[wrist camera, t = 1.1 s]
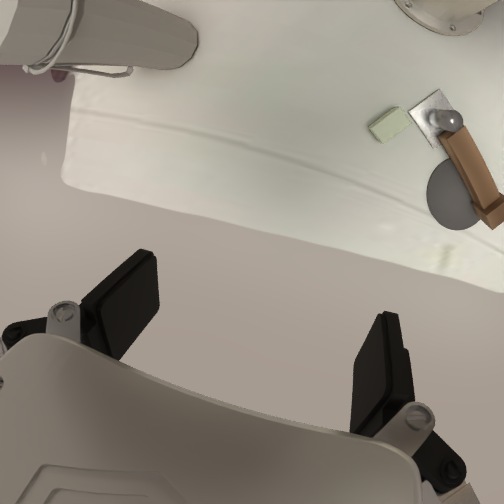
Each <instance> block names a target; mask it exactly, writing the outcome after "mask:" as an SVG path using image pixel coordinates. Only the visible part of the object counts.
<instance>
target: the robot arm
mask: <svg viewBox="0 0 504 504" xmlns="http://www.w3.org/2000/svg"><path fill="white" fill-rule="evenodd" d="M497 1H498V0H395V2H396V3H397V5H398V6H399V7H400V8H401V9H402V10H403V11H404V12H405V13H406V14H407V15H408V16H410V17H411V18H412V19H413V20H415V21H416V22H418V23H419V24H421V25H422V26H424V27H426V28H428V29H430V30H432V31H435V32H437V33H440V34H445V35H449V36H460V35H465V34H468V33H470V32H472V31H474V30H475V29H477V28H478V26H479V25H480V24H481V22H482V20H483V17H484V8H486V7H488V6H490V5H491V4H493V3H495V2H497ZM406 6H408V7H409V8H407V7H406ZM450 28H451V30H452V31H451V30H450ZM81 302H82V303H81V304H80V305H79V306H78V305H77V303H74V302H72V301H62V302H59V303H57V304H55V305H54V306H52V307H51V309H50V310H49V312H48V317H43V318H38V319H32V320H27V321H20V322H16V323H12V324H10V325H9V326H8V327H7V328H6V329H5V330H4V331H3V334H2V337H0V504H480V502H479V500H478V498H477V496H476V494H475V493H474V490H473V488H472V487H471V485H470V483H468V484H466V482H465V477H466V473H467V472H466V465H465V463H464V461H463V460H462V459H461V457H460V456H459V455H458V454H457V453H456V452H454V451H453V450H452V449H451V448H450V447H449V446H448V445H447V444H446V443H445V442H444V441H443V440H442V439H441V438H440V437H439V436H438V435H437V434H436V433H435V432H434V431H433V428H434V426H435V416H434V414H433V412H432V410H431V409H430V408H429V407H428V406H426V405H425V404H423V403H420V402H415V395H414V386H413V378H412V371H411V363H410V357H409V352H408V350H407V349H405V348H404V347H403V340H402V334H401V328H400V322H399V317H398V314H396V313H392V312H387V311H384V312H383V313H382V314H378V315H377V317H376V319H375V321H374V323H373V325H372V327H371V329H370V331H369V334H368V335H367V338H366V340H365V342H364V343H363V346H362V347H361V349H360V351H359V353H358V355H357V357H356V359H355V362H354V370H353V371H354V372H353V392H352V408H351V421H350V433H349V432H344V431H338V430H333V429H328V428H323V427H318V426H314V425H309V424H305V423H300V422H296V421H291V420H287V419H283V418H279V417H275V416H271V415H267V414H263V413H260V412H256V411H253V410H249V409H246V408H242V407H239V406H236V405H232V404H229V403H226V402H223V401H220V400H217V399H214V398H211V397H208V396H205V395H202V394H199V393H196V392H193V391H190V390H188V389H185V388H182V387H180V386H177V385H174V384H172V383H169V382H167V381H164V380H162V379H159V378H157V377H154V376H152V375H149V374H147V373H145V372H142V371H140V370H138V369H135V368H133V367H131V366H128V365H126V364H124V363H122V362H120V361H119V360H120V359H121V358H122V356H123V355H124V354H125V352H126V351H127V350H128V349H129V347H130V346H131V345H132V343H133V342H134V341H135V340H136V338H137V337H138V336H139V334H140V333H141V332H142V331H143V329H144V328H145V327H146V326H147V324H148V323H149V322H150V321H151V319H152V318H153V317H154V316H155V314H156V313H157V312H158V310H159V306H160V304H159V303H160V302H159V290H158V275H157V259H156V257H155V256H154V254H153V252H151V251H148V250H144V249H139V250H137V251H136V252H135V253H134V254H133V255H132V256H131V257H129V258H128V259H127V260H126V261H125V262H123V263H122V264H121V265H120V266H119V267H118V268H116V269H115V270H114V271H113V272H112V273H111V274H110V275H108V276H107V277H106V278H105V279H104V280H103V281H102V282H101V283H99V284H98V285H97V286H96V287H95V288H94V289H93V290H92V291H91V292H90V293H88V294H87V295H86V296H85V297H84V298H83V299H82V300H81Z"/></svg>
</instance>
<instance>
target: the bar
mask: <svg viewBox="0 0 504 504" xmlns="http://www.w3.org/2000/svg"><path fill="white" fill-rule="evenodd" d="M438 138H439V140H440V141H441V143H442V144H443V146H444V148H445V149H446V151H447V153H448V154H449V156H450V158H451V160H452V161H453V163H454V165H455V167H456V168H457V170H458V172H459V174H460V176H461V177H462V179H463V181H464V183H465V185H466V187H467V189H468V191H469V193H470V195H471V197H472V199H473V201H474V202H472V203H471V204H472V206H473V208H474V210H475V212H476V214H477V216H478V217H479V218H480V219H481V220H482V221H483V222H484V223H485V224H486V225H487V226H488V227H490V228H491V229H492V230H493V229H495V228H496V227H497V226H498V225H500V224H501V223H502V222H504V195H503V194H501V193H500V192H498V189H497V187H496V185H495V183H494V180H493V178H492V176H491V174H490V172H489V170H488V168H487V166H486V164H485V161H484V159H483V158H482V156H481V154H480V152H479V150H478V148H477V146H476V144H475V142H474V141H473V139H472V137H471V135H470V133H469V132H468V130H467V128H466V127H465V126H463V127H462V129H461V130H460V131H458V132H451V131H447V130H446V131H445V132H443V133H442V134H441V135H440V136H438Z"/></svg>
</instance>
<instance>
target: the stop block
mask: <svg viewBox="0 0 504 504" xmlns="http://www.w3.org/2000/svg"><path fill="white" fill-rule="evenodd" d="M411 123H412V122H411V121H410V120H409V118H408V117H407V115H406V114H405V113H404V111H403V110H402V109H401V107H394V108H393V109H391V110H390V111H389V112H387V113H386V114H385V115H383V116H382V117H381V118H379V119H378V120H377V121H375V122H374V123H373V124H371V125H370V126H369V127H368V128H369V129H370V131H371V132H372V133H373V134H374V136H375V137H376V138H377V140H378V141H379V142H380V143H382V144H384V143H386V142H387V141H388V140H390V139H391V138H392V137H394V136H395V135H396V134H398V133H399V132H400V131H402V130H403V129H404V128H406V127H407V126H408V125H410V124H411Z"/></svg>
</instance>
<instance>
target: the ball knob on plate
mask: <svg viewBox="0 0 504 504" xmlns="http://www.w3.org/2000/svg"><path fill="white" fill-rule="evenodd" d="M408 113H409V114H410V115H411V117H412V118H413V120H414V121H415V122H416V124H417V125H418V127H419V128H420V130H421V131H422V133H423V134H424V136H425V137H426V139H427V140H428V142H429V143H430V145H431V146H432V148H433V149H435V148H436V147H438V146H439V145H440V144H442V143H441V141H440V140H439V138H438V136H440V135H441V134H442V133H443V132H445V131H446V130H447V131H451V132H458V131H460V130H461V129H462V127H463V126H464V125H463V118H462V116H461V114H460V113H459V112H457V111H455V110H454V109H453V108H452V106H451V105H450V103H449V102H448V100H447V99H446V97H445V96H444V94H443V93H442V91H441V90H440V89H438V90H437V91H435V92H434V93H433V94H431V95H430V96H429V97H427V98H426V99H425V100H423V101H422V102H421V103H419V104H418V105H416V106H415V107H414V108H412V109H411V110H410V111H408Z"/></svg>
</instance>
